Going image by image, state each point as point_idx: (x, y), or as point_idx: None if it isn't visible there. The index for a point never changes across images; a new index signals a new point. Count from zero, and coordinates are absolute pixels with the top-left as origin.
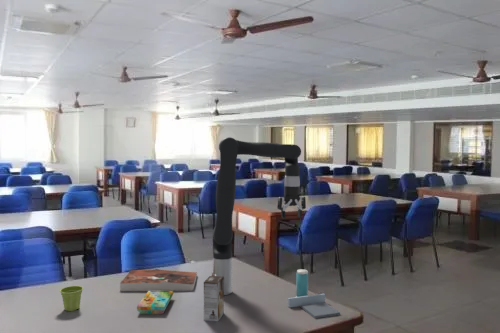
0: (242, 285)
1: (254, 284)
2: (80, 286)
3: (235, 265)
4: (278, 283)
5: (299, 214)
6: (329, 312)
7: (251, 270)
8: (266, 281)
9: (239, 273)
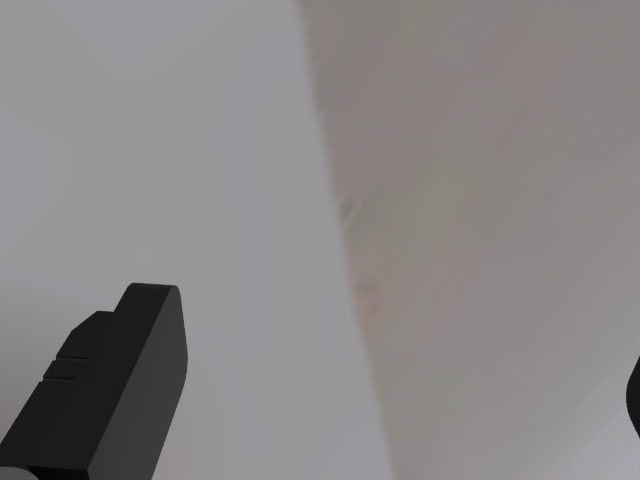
0: (610, 181)
1: (532, 172)
2: None
3: (444, 458)
4: (383, 135)
5: (147, 361)
6: None
7: (410, 377)
8: (432, 195)
9: (497, 358)
